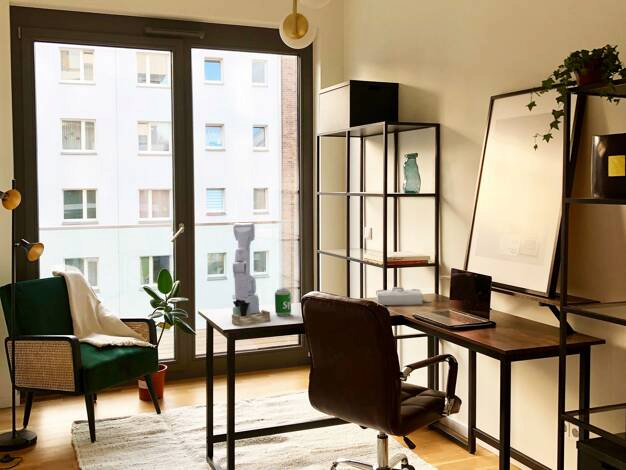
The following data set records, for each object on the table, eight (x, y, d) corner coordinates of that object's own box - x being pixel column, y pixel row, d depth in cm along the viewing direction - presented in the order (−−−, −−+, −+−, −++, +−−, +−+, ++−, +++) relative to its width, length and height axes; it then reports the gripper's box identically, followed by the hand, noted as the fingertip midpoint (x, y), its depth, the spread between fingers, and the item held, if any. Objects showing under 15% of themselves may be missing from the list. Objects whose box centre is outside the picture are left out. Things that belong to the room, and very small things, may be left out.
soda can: (278, 317, 334) (277, 291, 333) (273, 314, 341) (272, 289, 340) (293, 315, 337) (292, 290, 336) (288, 312, 344) (287, 288, 343)
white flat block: (433, 306, 352) (432, 290, 352) (376, 307, 354) (376, 292, 353) (429, 300, 371) (428, 285, 371) (375, 301, 373) (375, 286, 373)
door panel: (248, 317, 335) (248, 305, 334) (251, 318, 333) (250, 305, 332) (233, 319, 330) (232, 307, 330) (235, 320, 328) (235, 307, 328)
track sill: (263, 318, 331) (263, 310, 331) (270, 320, 326) (270, 311, 325) (231, 323, 322) (231, 314, 322) (238, 325, 317) (237, 316, 316)
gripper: (226, 286, 334) (227, 315, 335) (240, 290, 322) (241, 319, 323) (239, 285, 338) (240, 313, 339) (254, 288, 326) (255, 317, 327)
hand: (242, 316), depth 331 cm, fingers closed on door panel, 3 cm apart
